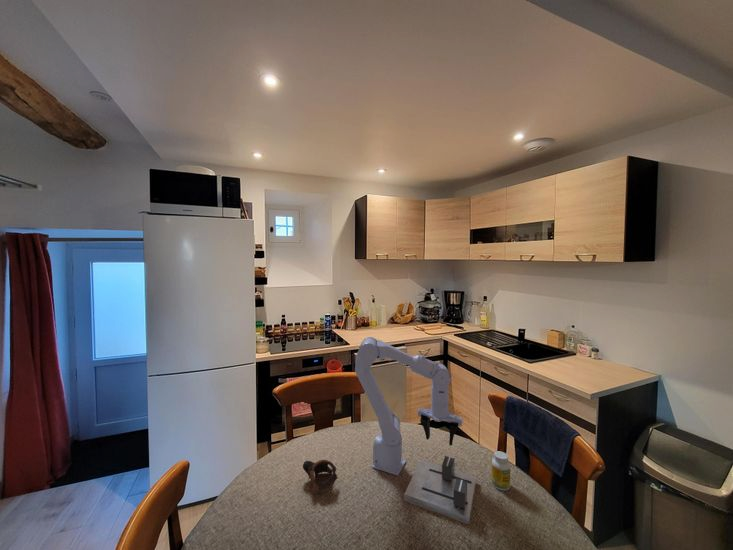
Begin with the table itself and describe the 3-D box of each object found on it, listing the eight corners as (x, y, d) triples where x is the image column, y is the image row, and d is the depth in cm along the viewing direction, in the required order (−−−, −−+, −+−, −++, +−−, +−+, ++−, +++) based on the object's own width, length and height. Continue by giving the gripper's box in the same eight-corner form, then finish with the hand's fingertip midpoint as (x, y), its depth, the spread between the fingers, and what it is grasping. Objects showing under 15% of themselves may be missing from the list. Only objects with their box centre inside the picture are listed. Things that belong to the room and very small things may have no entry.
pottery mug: (341, 475, 97) (342, 462, 93) (328, 507, 89) (329, 494, 85) (308, 459, 100) (309, 446, 96) (293, 489, 92) (292, 476, 88)
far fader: (441, 478, 92) (442, 464, 92) (445, 468, 97) (445, 455, 96) (451, 481, 91) (451, 467, 91) (454, 471, 95) (454, 458, 95)
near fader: (453, 504, 82) (453, 489, 82) (456, 492, 86) (456, 478, 86) (464, 508, 80) (464, 493, 80) (467, 495, 85) (467, 481, 85)
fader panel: (404, 500, 86) (404, 493, 86) (420, 465, 101) (420, 459, 101) (469, 524, 78) (469, 517, 78) (476, 482, 93) (476, 476, 93)
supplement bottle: (497, 476, 96) (498, 447, 96) (513, 486, 92) (514, 456, 92) (487, 483, 93) (488, 453, 93) (503, 494, 89) (504, 462, 89)
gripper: (415, 401, 99) (415, 441, 99) (460, 411, 93) (459, 453, 93) (421, 393, 105) (420, 431, 106) (463, 401, 99) (462, 441, 99)
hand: (439, 440), depth 100 cm, fingers open, 7 cm apart
